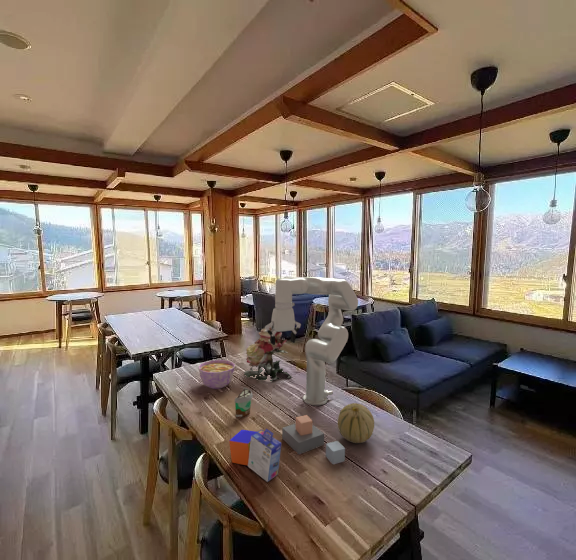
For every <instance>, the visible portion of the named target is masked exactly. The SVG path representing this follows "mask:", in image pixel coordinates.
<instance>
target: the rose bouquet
mask: <svg viewBox="0 0 576 560" xmlns="http://www.w3.org/2000/svg"><path fill="white" fill-rule="evenodd" d="M269 329H270V331H272V329H271V327H270V328H269ZM282 334H283V333H282V331H281V332H276V334H275V335H274V336H275V345H273V344H271V342H270V334H269V333H268V332H267V331H266V329H265V327H263V328H262V329H261V330H260V331H259V332H258V335H259V339H257V340H256V341H254V343H252V344H250V345H249V346H248V347H247V348H246V349H245V351H246V353H245V354H246V359H245V360H246V363H248V366H249V367H250V368H249V370H245V371H244V372H243V373H244V375H246V376H247V377H246V376H244V375H243V376H244V377H245V378H247V379H249V378H248V377H250V376H253V377H255V375H257V376H256V378H255V379H258V380H266V379H267V376H263V375H262V374H260V373H261V372H262V371H263V370H262V368H264V369H265V371H266V372H265V374H266V373H267V374H266V375H270V376H272V377H273V378H272V377H271V378H272V380H270V381H272V382H273V381H276V380H279V378H280V377H279V376H277V374H283V375H286V374H287V376H288V377H287V379H289V378H292V377H291V376H292V375H291V376H290V375H289V373H288V372H287V371H284V368H281V365H280V362H281V361H282V360H280V359H279V360H275V361H274V358H273V355H274V354H276V353H277V354H278V353H285V354H288V353H289V352H287V351H286V350H283V349H282V350H281V348H282V347H283V346H284V344H285V343H287V341H288V339H282V338H281V337H282ZM253 367H256V368H257V367H258V368H257V369H258V371H253V370H254V369H253ZM282 371H283V372H282ZM259 375H261V376H259ZM255 379H254V380H255ZM258 380H257V381H258Z"/></svg>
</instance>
